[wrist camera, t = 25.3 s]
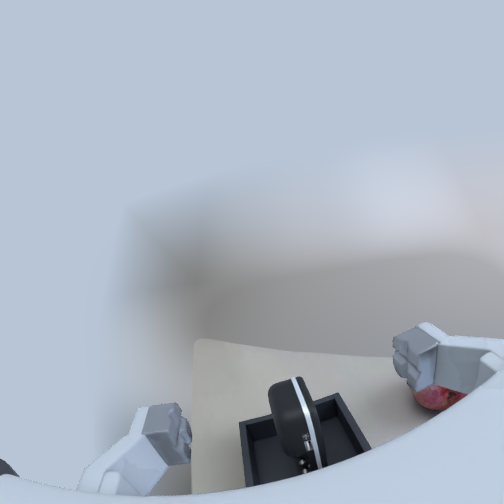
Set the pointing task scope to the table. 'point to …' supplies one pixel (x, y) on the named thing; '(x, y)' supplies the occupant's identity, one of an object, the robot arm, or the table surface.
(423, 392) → the fruit
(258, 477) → the tote
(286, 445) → the battery charger
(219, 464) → the table surface
